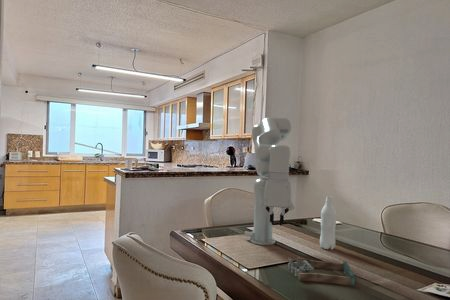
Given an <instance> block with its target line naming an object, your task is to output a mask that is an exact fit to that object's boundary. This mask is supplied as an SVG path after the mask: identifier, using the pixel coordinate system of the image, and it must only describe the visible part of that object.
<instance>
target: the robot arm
mask: <svg viewBox="0 0 450 300" xmlns="http://www.w3.org/2000/svg"><path fill="white" fill-rule="evenodd" d="M291 131H292V123H291V122H290V119H288V118H287V117H277V116H276V117H274V116H270V117H269V116H267V117H265V118H263V119H262V120H261V122H260V123H258V124H254V126H253V127H252V128H251V136H252V137H251V138H252V141H253V145H254V146H253V148H254V156H255V159H256V162H255V163H256V165H255V167H256V173H257V175H258V176H259V177H261V178H258V179H257V178H256V179H255V180H254V182H253V193H254V194H253V195H254V208H253V209H254V211H253V230H252V231H246V230H245V231H244V236H246V237H249V241H250V242H251V243H253V244H255V245H260V246H269V245H270V246H271V245H274V244H276V239H275V238H273V234H274V233H273V229H274V224H275V223H274V221H275V219H274V218H275V213H274V208H280V209H281V210H280V214H279V226H280V227H281V226H282V224H284V221H285V219H284V217H285V215H286V214H288V212H290V211H292V210H294V209H295V206H294V205H293V202H292V184H291V180H289V177H290V175H289V173H290V157H291V150H290V146H288V145H286V144H285V145H283V144H279V143H280V142H283V141H285V139H287V137H289V135H290V134H291ZM265 177H266V178H265Z"/></svg>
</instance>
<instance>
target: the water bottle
mask: <svg viewBox="0 0 450 300" xmlns="http://www.w3.org/2000/svg"><path fill="white" fill-rule="evenodd" d="M333 202H334V197H333V196H332V195H326V198H325V204H324V205H323V207H322V208H321V211H320V222H319V223H320V235H319V236H320V237H319V245H320V247H322V249H324V250H326V249H327V250H329V249H330V250H334V248H335V247H336V227H337V215H338V213H337V210H336V208H335V206H334V203H333Z"/></svg>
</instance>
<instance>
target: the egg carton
mask: <svg viewBox="0 0 450 300" xmlns="http://www.w3.org/2000/svg"><path fill="white" fill-rule="evenodd" d="M287 259H288V260H289V262H288V263H287V264H288V265H287V266H288V267H287V268H288V270H291V273H293V274H294V277H296V278H299V273H314V269H315V267H312V266H311V265H310V264H309V263H308V262H307V261H306V260H305V261H301V260H300V261H298V260H297V259H296V261H294V260H293V259H292V258H290V257H287Z"/></svg>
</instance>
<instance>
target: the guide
mask: <svg viewBox="0 0 450 300" xmlns="http://www.w3.org/2000/svg"><path fill="white" fill-rule="evenodd" d="M296 260H298V261H300V260H301V261H305V260H306V261H307V262H308V263H309V264H310V265H311V266H312V267H313V268H314V269H315V268H317V269H326V270H335V271H342V272H343V273H344V275H345V276H344V275H333V274H325V273H319V272H318V273H317V272H313V273H299V277H298V281H299V282H322V283H332V284H338V285H345V286H352V287H353V286H355V280H356V278H355V277H356V275H355V273H354V272H353V270H352V268H351V266H350V264H349V263H348V261H346V260H343V262H342V263H341V262H334V261H333V262H331V261H324V260H322V261H321V260H315V259H314V260H313V259H310V258H303V257H298V256H297V257H296Z"/></svg>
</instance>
